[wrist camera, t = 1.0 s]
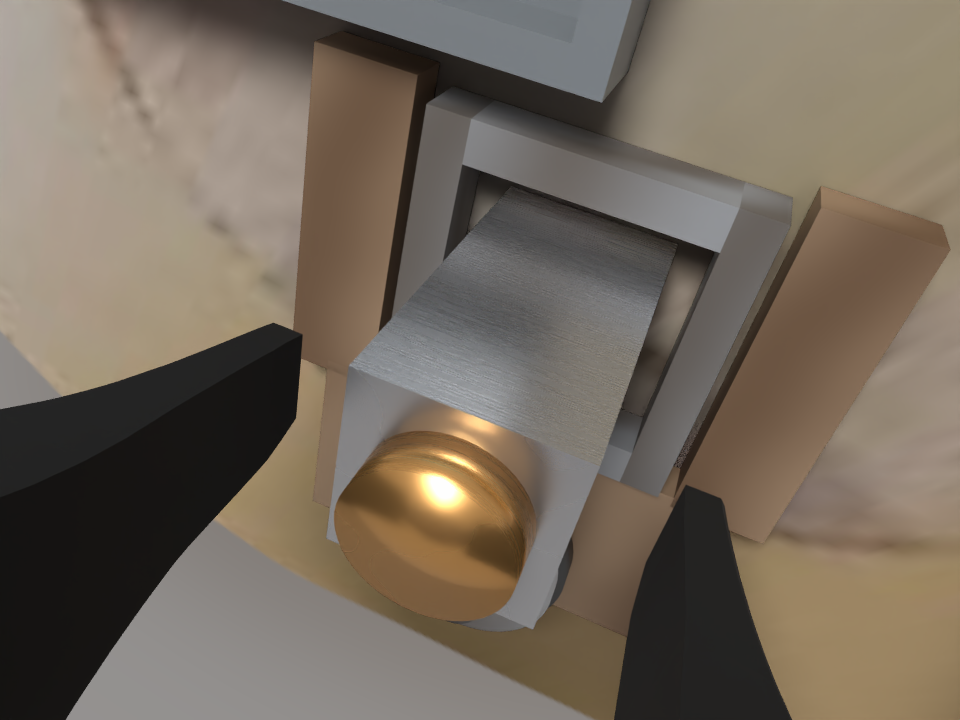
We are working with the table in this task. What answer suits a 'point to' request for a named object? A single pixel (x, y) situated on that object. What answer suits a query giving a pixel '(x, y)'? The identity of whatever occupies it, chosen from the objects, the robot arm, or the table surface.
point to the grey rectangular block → (492, 409)
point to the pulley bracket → (634, 198)
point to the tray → (514, 34)
